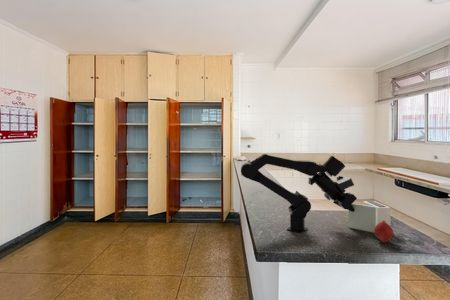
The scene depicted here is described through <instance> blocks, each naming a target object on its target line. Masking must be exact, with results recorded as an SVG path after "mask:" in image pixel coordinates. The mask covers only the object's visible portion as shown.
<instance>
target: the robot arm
mask: <svg viewBox="0 0 450 300" xmlns="http://www.w3.org/2000/svg"><path fill="white" fill-rule="evenodd" d="M266 165H271V166H276V167H281V168H283V169H289V170H294V171H296V172H299V173H302V174H304V175H306V176H309V177H308V178H307V179H308V183H307V184H309V185H311V186H313V185H314V184H316V186H317V187H318V188H319V189H320V190H321V192H323V193H324V194H323V196H324V197H325V198H326V200H327V201H331V200H332V201H333V204H335V205H337V206H338V207H340V208H342V209H344V210H347V211H348V212H349V211H352V212H354V211H355V210H354V208H353V206H352V203H353V204H354V203H355V202H356V201H357V199H358V198H357V196H356V195H355V194H354V193H351V192H346V191H347V190H346V189H348V188H350V187H354V186H355V184H354V182H353V179H352V177H349V176H342V175H339V174H340V173H341V172H342V171H343V170H344V169H345V168H346V165H345V164H344V163H343V162H342V161H340V159H338V158H336V157H335V156H333V155H331V156H329V158H328V159H327V160H326V161H325V162H324V163H323V164H320V163H319V164H318V163H316V162H315V161H311V160H299V159H298V160H294V159H289V158H284V157H278V156H274V155H269V154H267V153H263V154H261V155H260V156H258V157H257V158H254V159H253V160H252V161H250V162H245V163H243V164H242V165H241V167H240V172H241V175H242V177H243V178H246V179H248V180H251V181H253V182H256V183H258V184H261V185H263V187H265V188H267V189H268V190H270V191H272V192H273V193H275V194H276V195H278V196H280V198H283V199H284V200H285V201H287V202H288V203H289V204H290V206H288V212H289V213H290V215H289V219H290V220H289V222H290V223H289V225H290V226H289V227H288V228H286V230H287V231H291V232H295V233H299V234H302V233H304V232H306V231H307V230H309V228H308V227H305V224H306V222H305V221H306V220H305V219H306V217H307V214H308V213H309V212H310V211H311V209H312V204H311V201H309V198H308V197H307V196H306V195H304V194H302V193H300V192H299V191H298V190H295V192H292V191H290V190H288V189H287V188H285V187H284V186H282V185H280V184H278V182H276V181H274V180H273V179H272V178H270V177H268V176H266V175H265V174H263V173H262V172H261V171H260V169H262V168H263V167H264V166H266ZM331 177H336V180H335V181H334V180H332V178H331Z"/></svg>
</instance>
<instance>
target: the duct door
mask: <svg viewBox="0 0 450 300" xmlns="http://www.w3.org/2000/svg"><path fill="white" fill-rule="evenodd" d="M352 206H353V208H354V210H355V211H354V212H352V211H349V210H348V228H350V229H351V228H352V229H356V230H359V231H360V230H361V231H365V232H370V233H374V229H375V227H376V207H373V206H367V205H363V204H359V203H354V202H353V203H352Z"/></svg>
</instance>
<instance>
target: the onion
mask: <svg viewBox="0 0 450 300" xmlns="http://www.w3.org/2000/svg"><path fill="white" fill-rule="evenodd" d="M373 233H374V235H375V237H377V239H379V240H380V241H381V242H382V243H386V242H387V241H389V240H390V239H392V238H393V237H394V230H393V228H392V227H391V225H390V226H389V225H388V224H387V223H386V222H385V220H383V221H382V222H380V223H379V224H377V225H376V227H375V229H374V232H373Z"/></svg>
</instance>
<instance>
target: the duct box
mask: <svg viewBox="0 0 450 300" xmlns="http://www.w3.org/2000/svg"><path fill="white" fill-rule="evenodd" d="M362 205H367V206H373V207H376V225H377V224H379V223H380V222H382V221H383V220H385V222H386V223H387V224H388V225H389V226H390V227H391V207H390V206H388V205H385V204H383V203H381V202H378V201H375V200H367V201H366V200H365V201H364V200H363V201H362Z"/></svg>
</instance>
